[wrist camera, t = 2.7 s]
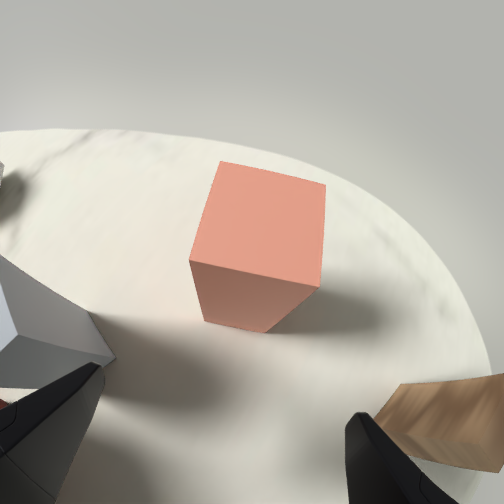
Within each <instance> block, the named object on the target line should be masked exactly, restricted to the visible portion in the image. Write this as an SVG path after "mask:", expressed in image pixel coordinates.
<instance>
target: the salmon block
mask: <svg viewBox="0 0 504 504" xmlns="http://www.w3.org/2000/svg"><path fill="white" fill-rule="evenodd" d="M325 194H326V185H324V184H320V183H317V182H313V181H309V180H305V179H301V178H297V177H293V176H289V175H285V174H280V173H276V172H272V171H267V170H263V169H258V168H253V167H248V166H243V165H238V164H233V163H228V162H223V161H220V163H219V166H218V169H217V172H216V175H215V178H214V181H213V184H212V187H211V190H210V193H209V196H208V199H207V202H206V205H205V208H204V211H203V214H202V217H201V221H200V224H199V227H198V230H197V234H196V237H195V240H194V244H193V247H192V250H191V254H190V257H189V263H190V267H191V271H192V275H193V279H194V283H195V287H196V291H197V295H198V299H199V303H200V307H201V310H202V314H203V318H204V321H207V322H211V323H216V324H220V325H225V326H230V327H235V328H240V329H245V330H250V331H255V332H260V333H266V332H267V331H268V330H269V329H271V328H272V327H273V326H274V325H275V324H277V323H278V322H279V321H280V320H282V319H283V318H284V317H285V316H286V315H288V314H289V313H290V312H291V311H292V310H294V309H295V308H296V307H297V306H298V305H299V304H301V303H302V302H303V301H304V300H305V299H306V298H308V297H309V296H310V295H311V294H312V293H313V292H315V291H316V290H317V289H318V288H319V287H320V278H321V266H322V253H323V237H324V219H325Z"/></svg>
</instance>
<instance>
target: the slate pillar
mask: <svg viewBox="0 0 504 504" xmlns="http://www.w3.org/2000/svg"><path fill="white" fill-rule="evenodd" d="M115 358H116V357H115V356H114V354H113V353H112V351H111V350H110V348H109V346H108V345H107V343H106V342H105V340H104V339H103V337H102V335H101V334H100V332H99V331H98V329H97V327H96V326H95V324H94V322H93V321H92V319H91V317H90V315H89V314H88V312H87V310H85V309H83V308H81V307H79V306H78V305H76V304H74V303H72V302H71V301H69V300H67V299H66V298H64V297H62V296H61V295H59V294H57V293H56V292H54V291H52V290H51V289H49V288H48V287H46V286H45V285H43V284H41V283H40V282H38V281H37V280H35V279H34V278H32V277H31V276H29V275H28V274H26V273H25V272H24V271H22V270H21V269H19V268H18V267H16V266H15V265H14V264H12V263H11V262H10V261H8V260H7V259H5V258H4V257H3V256H1V255H0V387H1V388H21V389H40V388H42V387H44V386H46V385H48V384H50V383H51V382H53V381H55V380H57V379H59V378H61V377H63V376H64V375H66V374H68V373H70V372H72V371H74V370H75V369H77V368H79V367H81V366H83V365H85V364H86V363H88V362H90V361H93V362H96V363H98V364H101V365H102V368H104V367H105V366H106V365H108V364H109V363H110V362H111V361H113V360H114V359H115Z"/></svg>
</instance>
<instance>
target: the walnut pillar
mask: <svg viewBox="0 0 504 504" xmlns="http://www.w3.org/2000/svg"><path fill="white" fill-rule="evenodd" d="M373 420H374V421H375V422H376V423H377V424H378V425H379V426H380V427H381V428H382V429H383V431H384V432H385V433H386V434H387V435H388V436H389V437H390V438H391V439H392V440H393V441H394V442H395V443H396V444H397V446H398V447H399V448H400V449H401V450H402V451H403V452H404V453H405V454H407V455H410V456H414V457H417V458H421V459H425V460H429V461H433V462H437V463H441V464H446V465H450V466H455V467H460V468H466V469H472V470H478V471H485V472H494V473H499V471H500V470H501V468H502V466H503V465H504V373H503V374H497V375H491V376H485V377H479V378H472V379H464V380H455V381H445V382H433V383H418V384H400V386H399V387H398V389H397V390H396V391H395V393H394V394H393V395H392V397H391V398H390V399H389V400H388V402H387V403H386V404H385V405H384V407H383V408H382V409H381V410H380V412H379V413H378V414H377V415H376V416H375V418H374V419H373Z"/></svg>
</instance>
